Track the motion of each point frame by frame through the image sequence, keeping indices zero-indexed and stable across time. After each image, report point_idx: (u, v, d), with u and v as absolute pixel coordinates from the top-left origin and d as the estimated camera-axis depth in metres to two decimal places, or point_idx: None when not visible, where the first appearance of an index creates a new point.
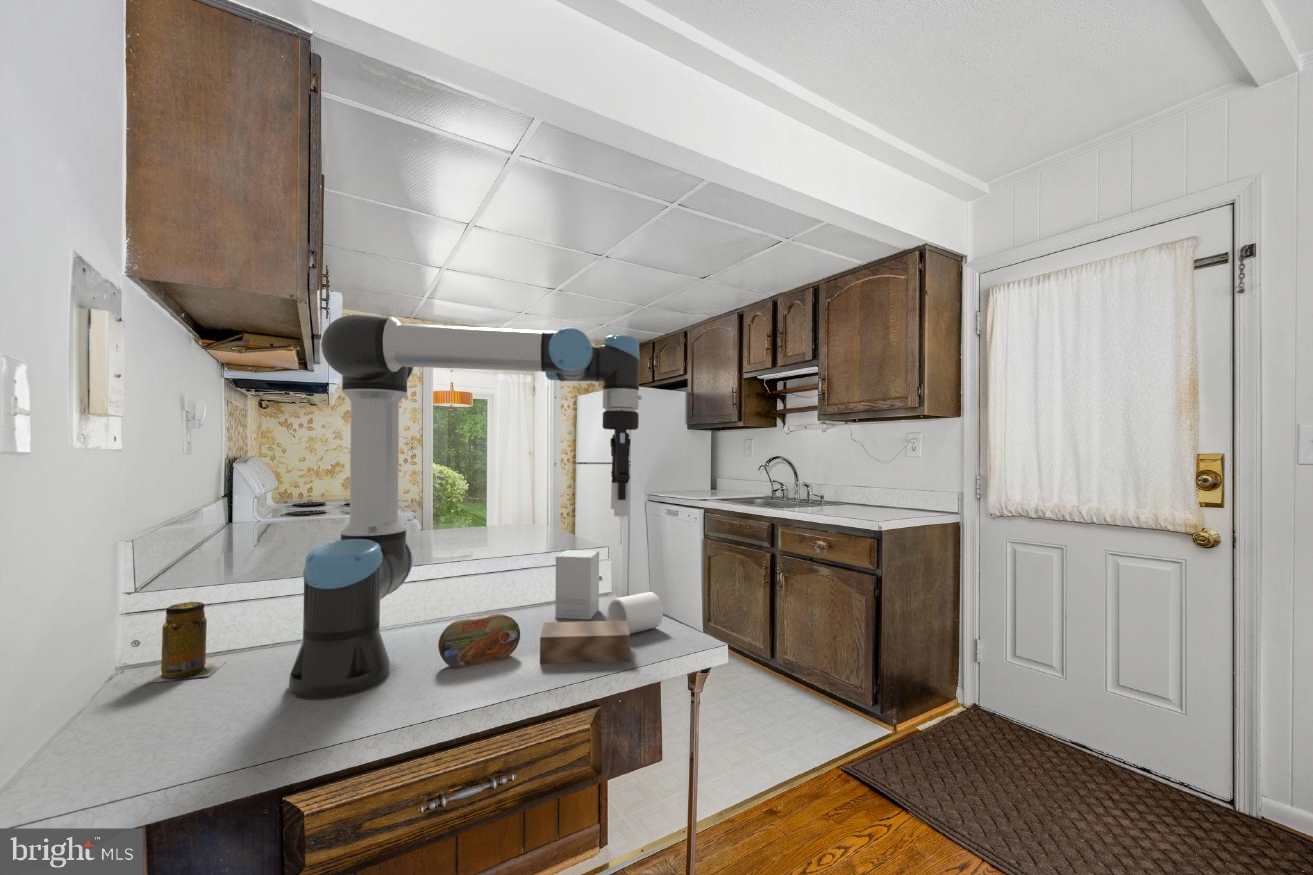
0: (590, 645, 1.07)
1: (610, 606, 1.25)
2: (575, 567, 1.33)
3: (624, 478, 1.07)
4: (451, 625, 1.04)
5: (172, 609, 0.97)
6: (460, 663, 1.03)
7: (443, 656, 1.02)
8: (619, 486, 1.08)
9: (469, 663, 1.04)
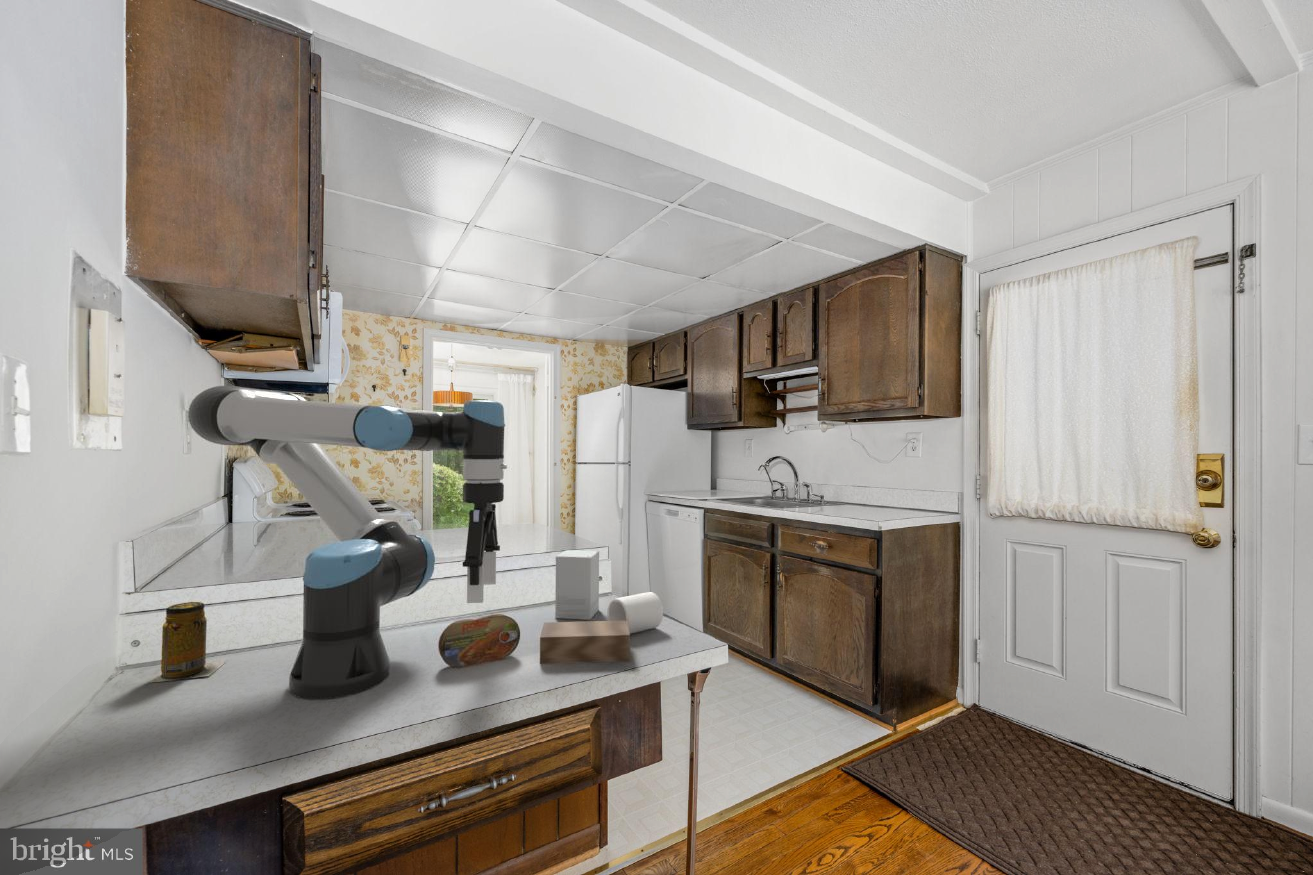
0: (590, 645, 1.07)
1: (610, 606, 1.25)
2: (575, 567, 1.33)
3: (473, 563, 0.97)
4: (451, 625, 1.04)
5: (172, 609, 0.97)
6: (460, 663, 1.03)
7: (443, 656, 1.02)
8: (471, 570, 0.98)
9: (469, 663, 1.04)
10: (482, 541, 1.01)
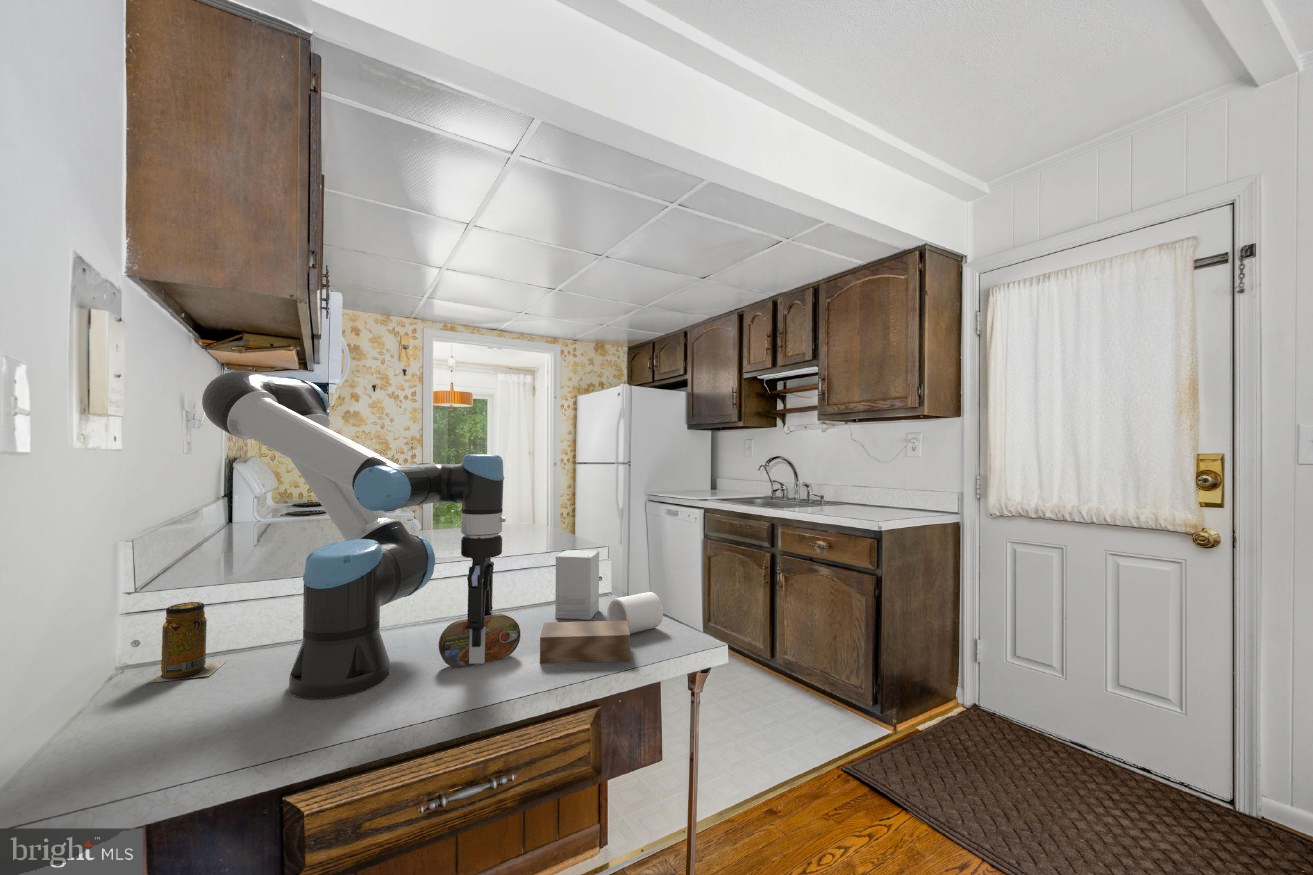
0: (590, 645, 1.07)
1: (610, 606, 1.25)
2: (575, 567, 1.33)
3: (476, 628, 1.01)
4: (451, 625, 1.04)
5: (172, 609, 0.97)
6: (460, 663, 1.03)
7: (443, 656, 1.02)
8: (473, 633, 1.02)
9: None
10: (482, 602, 1.03)
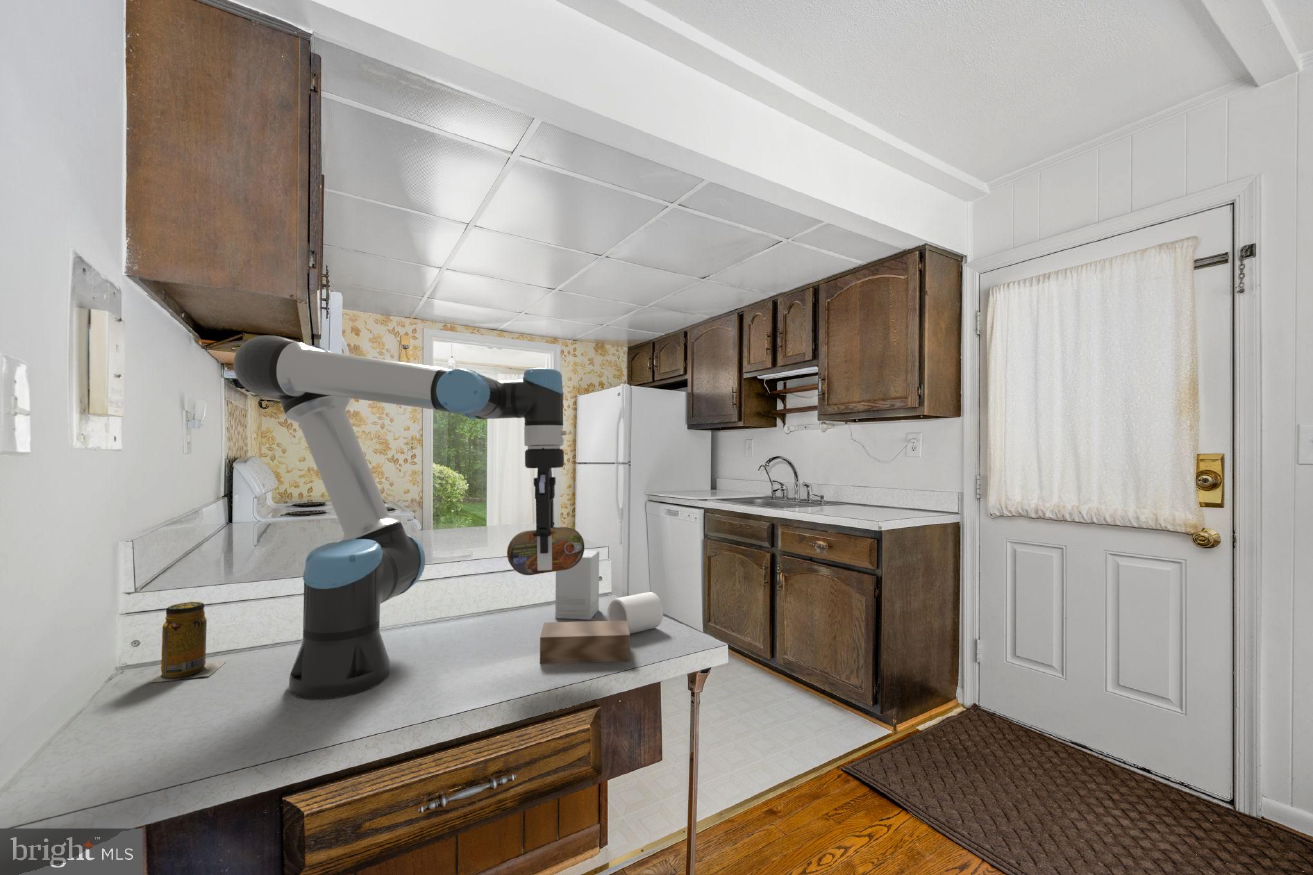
0: (590, 645, 1.07)
1: (610, 606, 1.25)
2: (575, 567, 1.33)
3: (544, 533, 1.04)
4: (518, 534, 1.07)
5: (172, 609, 0.97)
6: (528, 571, 1.07)
7: (512, 563, 1.05)
8: (541, 540, 1.05)
9: (536, 571, 1.07)
10: None
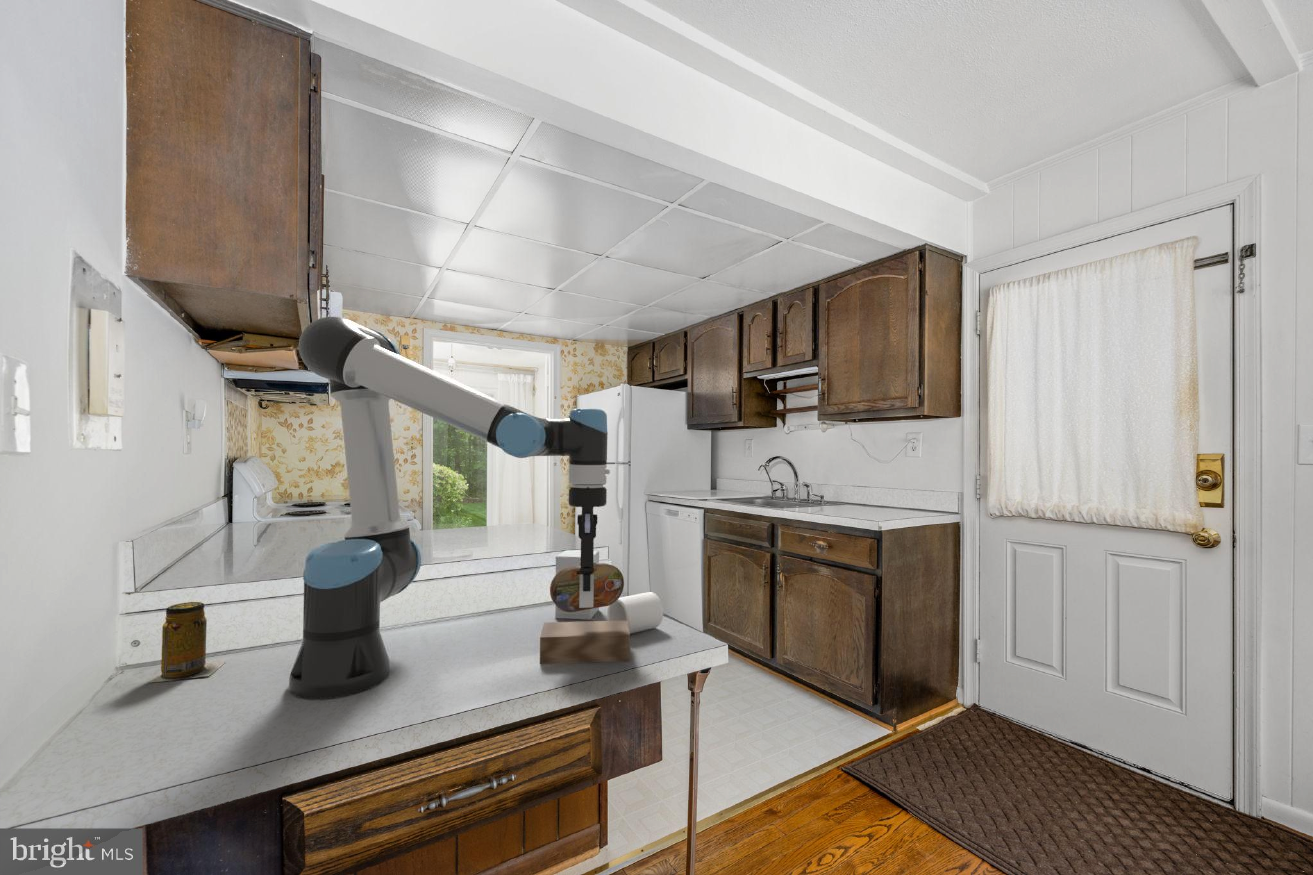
0: (590, 645, 1.07)
1: (610, 606, 1.25)
2: None
3: (588, 572, 1.06)
4: (561, 572, 1.09)
5: (172, 609, 0.97)
6: (570, 608, 1.08)
7: (555, 600, 1.07)
8: (584, 578, 1.07)
9: (578, 608, 1.09)
10: None
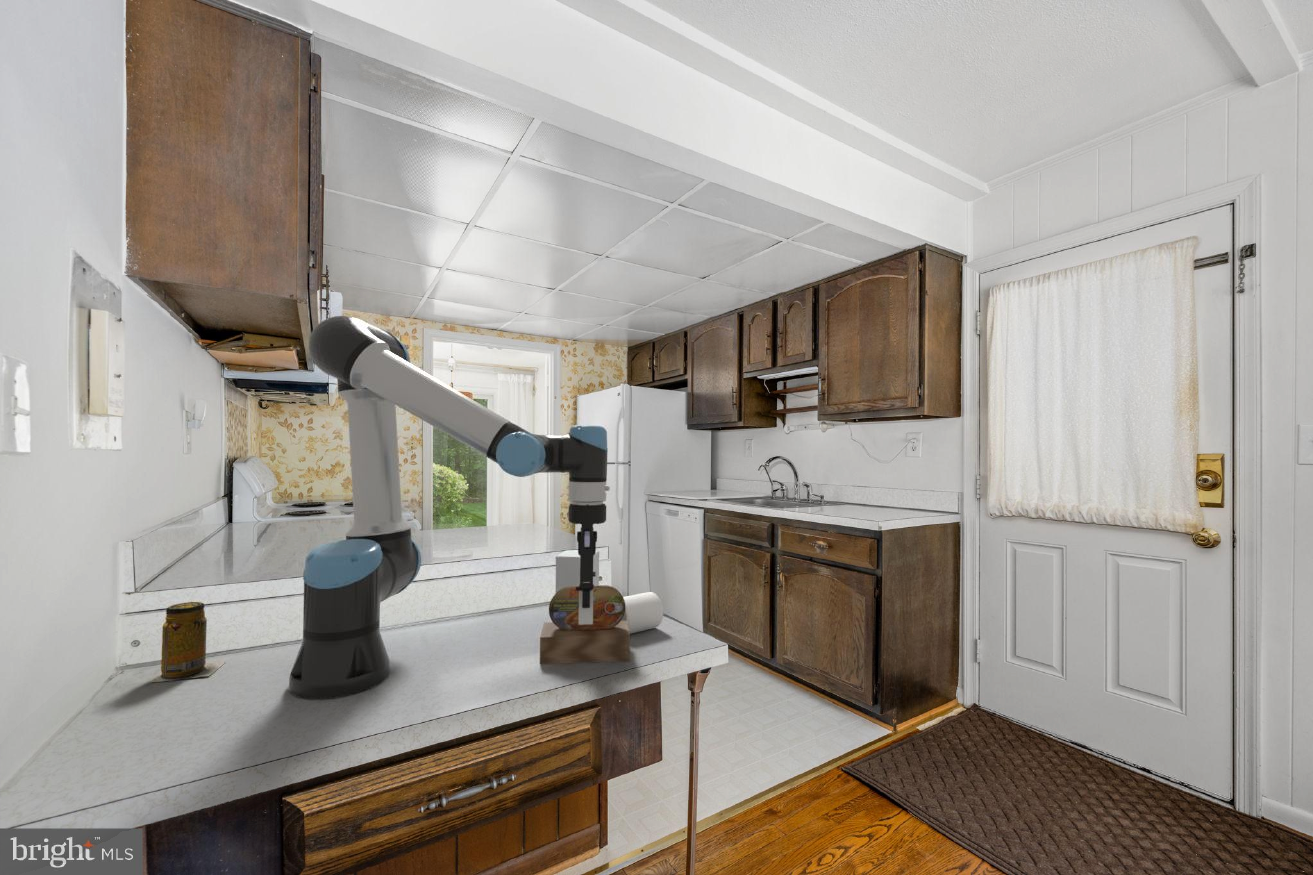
0: (590, 645, 1.07)
1: None
2: (575, 567, 1.33)
3: (587, 588, 1.03)
4: (561, 589, 1.11)
5: (172, 609, 0.97)
6: (567, 626, 1.10)
7: (552, 617, 1.09)
8: (583, 594, 1.05)
9: (575, 627, 1.10)
10: None
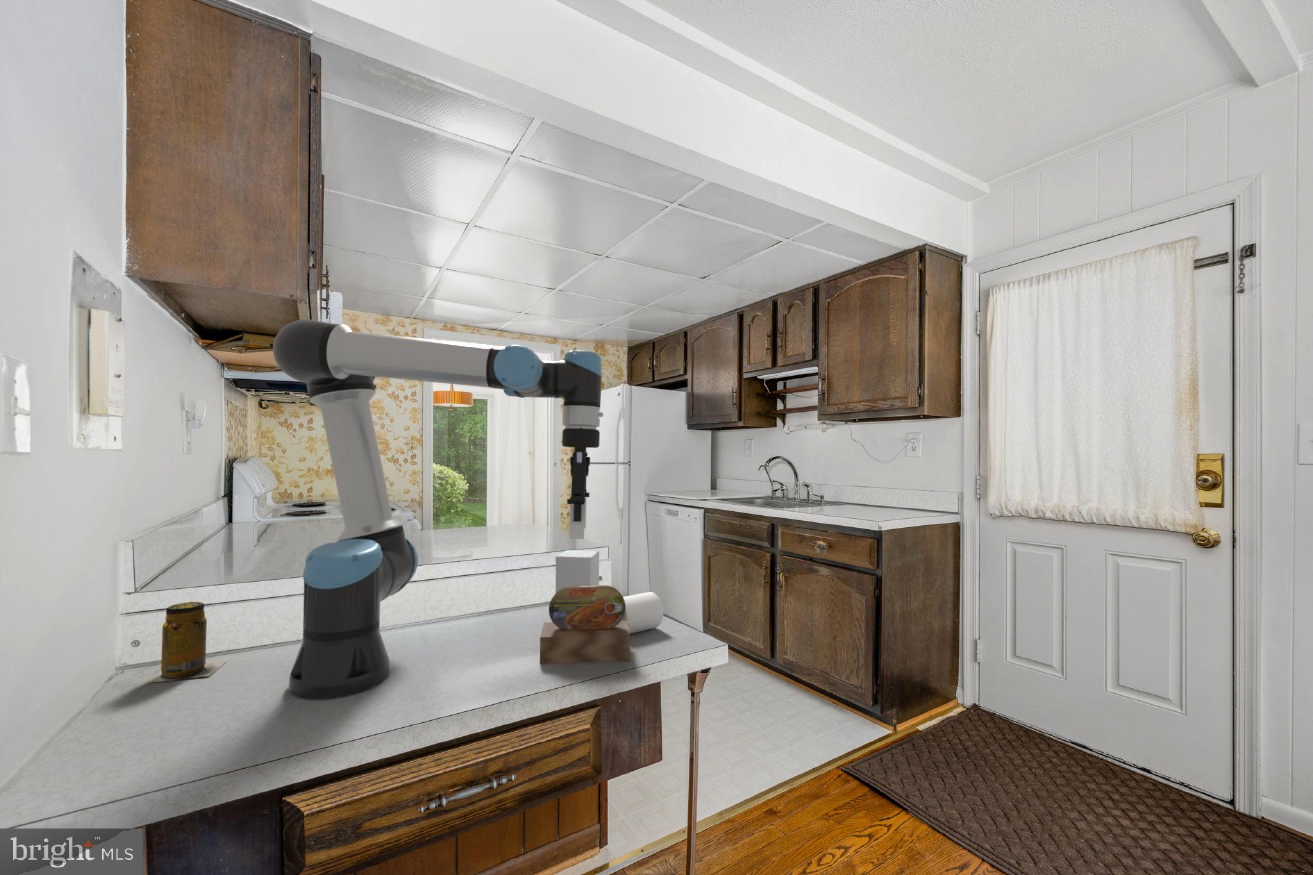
0: (590, 645, 1.07)
1: None
2: (575, 567, 1.33)
3: (578, 500, 1.03)
4: (561, 589, 1.11)
5: (172, 609, 0.97)
6: (567, 626, 1.10)
7: (552, 617, 1.09)
8: (574, 507, 1.04)
9: (575, 627, 1.10)
10: None
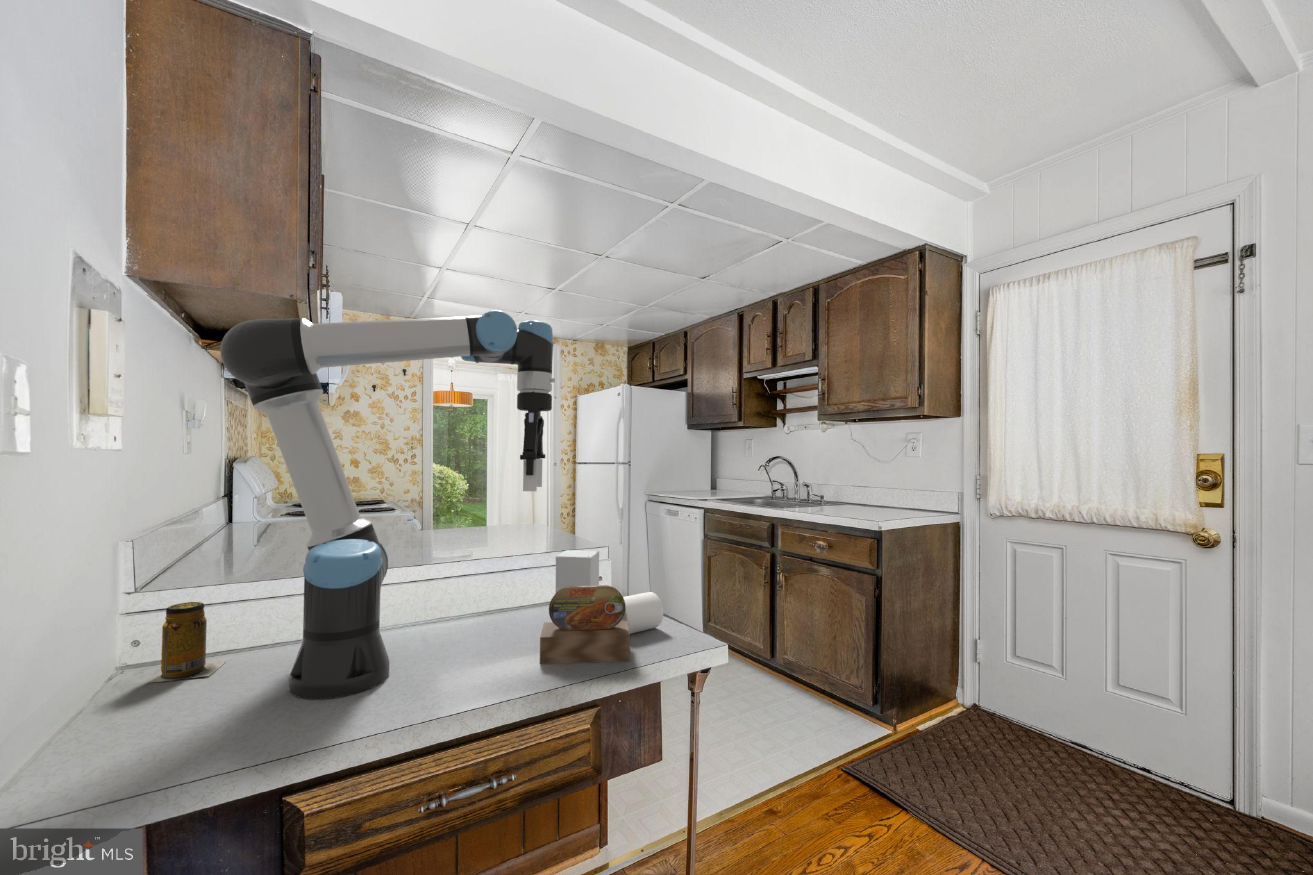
0: (590, 645, 1.07)
1: None
2: (575, 567, 1.33)
3: (530, 455, 1.13)
4: (561, 589, 1.11)
5: (172, 609, 0.97)
6: (567, 626, 1.10)
7: (552, 617, 1.09)
8: (527, 462, 1.15)
9: (575, 627, 1.10)
10: (535, 440, 1.18)
